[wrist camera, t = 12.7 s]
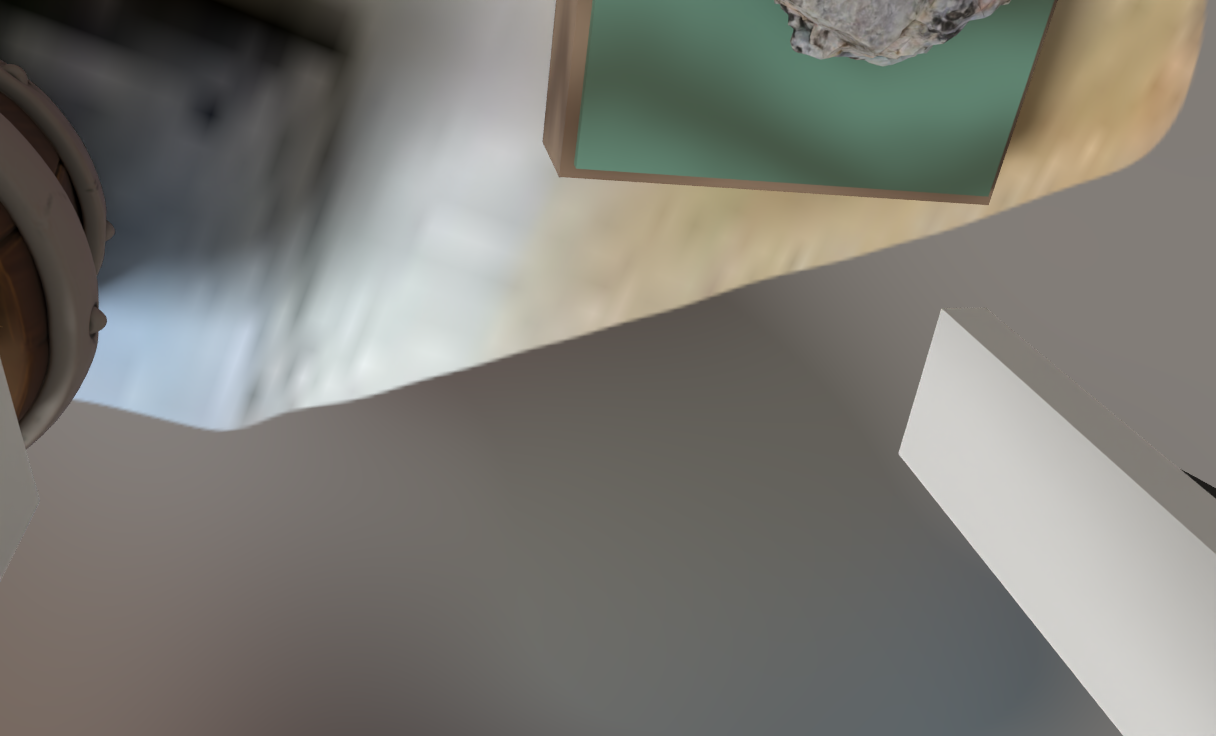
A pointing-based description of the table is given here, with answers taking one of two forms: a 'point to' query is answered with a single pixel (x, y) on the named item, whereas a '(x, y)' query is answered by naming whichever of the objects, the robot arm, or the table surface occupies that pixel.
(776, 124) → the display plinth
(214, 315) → the table surface
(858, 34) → the mineral specimen
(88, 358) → the flowerpot
